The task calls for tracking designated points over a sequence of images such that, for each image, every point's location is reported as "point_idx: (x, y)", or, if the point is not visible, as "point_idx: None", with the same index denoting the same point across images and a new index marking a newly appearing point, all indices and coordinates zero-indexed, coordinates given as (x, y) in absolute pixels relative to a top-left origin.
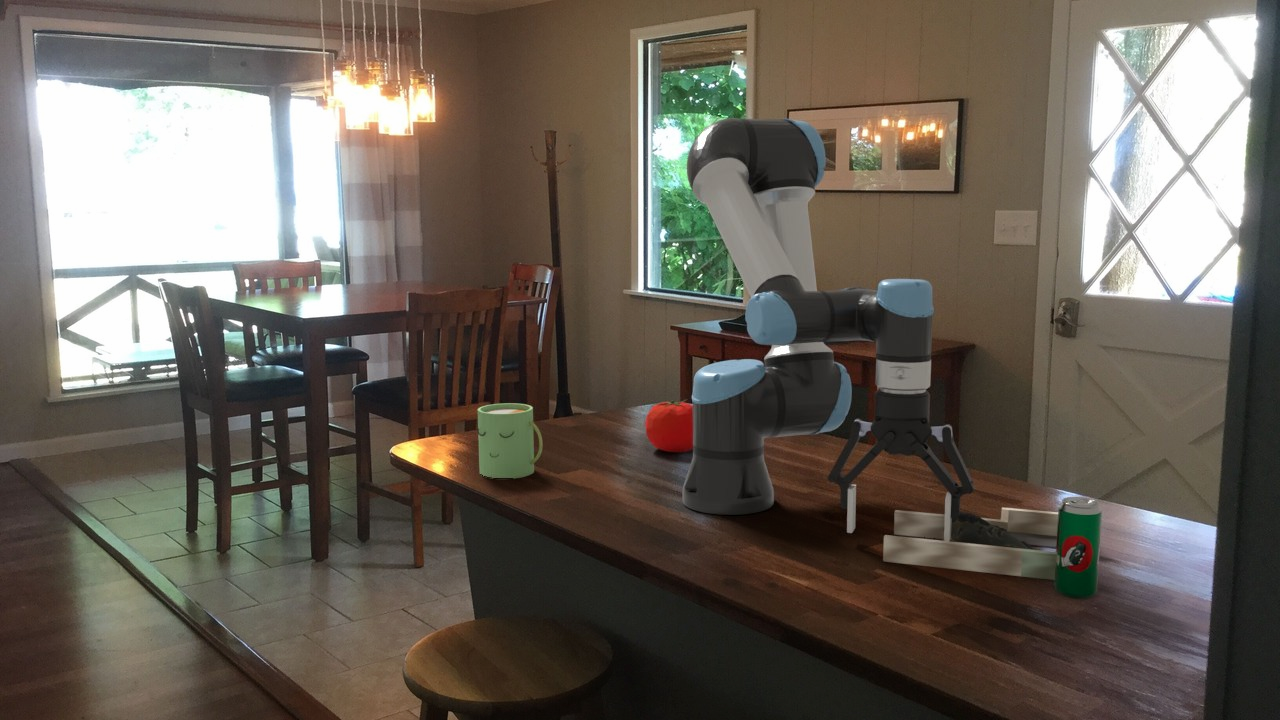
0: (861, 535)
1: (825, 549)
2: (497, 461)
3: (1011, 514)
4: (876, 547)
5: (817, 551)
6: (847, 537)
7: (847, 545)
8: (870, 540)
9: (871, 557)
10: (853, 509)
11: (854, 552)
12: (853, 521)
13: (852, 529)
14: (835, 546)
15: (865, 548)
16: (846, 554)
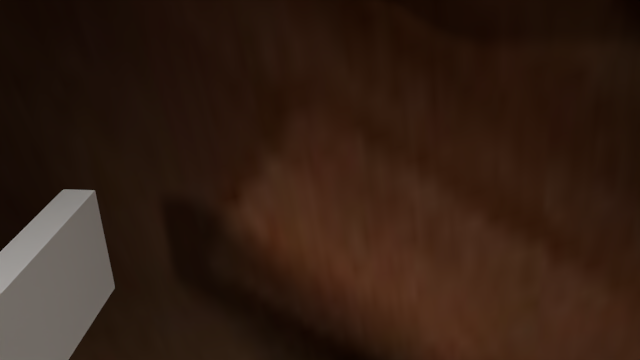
0: (129, 45)
1: None
2: None
3: None
4: (264, 224)
5: None
6: (69, 110)
7: (118, 235)
8: (205, 121)
9: (272, 354)
10: (41, 357)
11: (182, 316)
12: (81, 288)
13: (105, 291)
14: None
15: (215, 253)
16: (157, 347)
